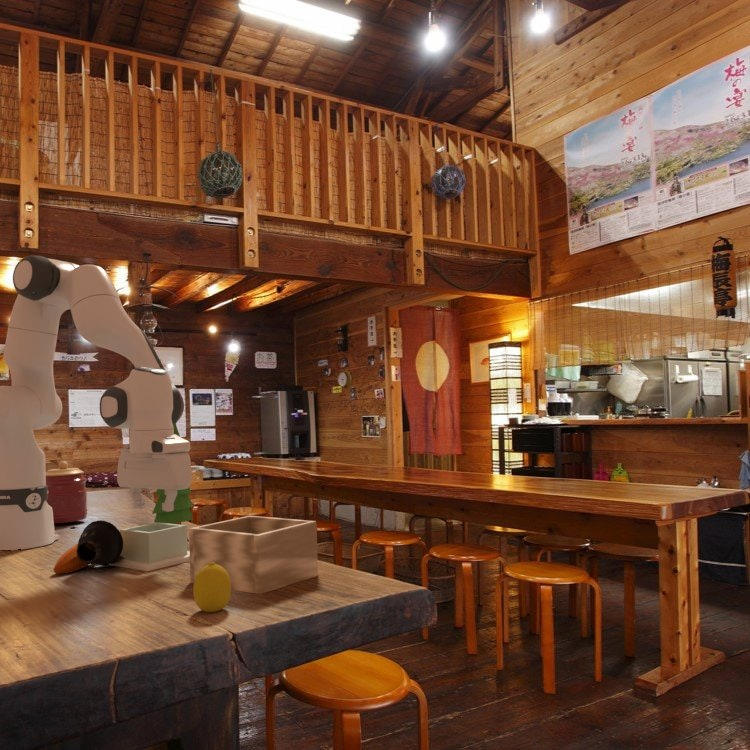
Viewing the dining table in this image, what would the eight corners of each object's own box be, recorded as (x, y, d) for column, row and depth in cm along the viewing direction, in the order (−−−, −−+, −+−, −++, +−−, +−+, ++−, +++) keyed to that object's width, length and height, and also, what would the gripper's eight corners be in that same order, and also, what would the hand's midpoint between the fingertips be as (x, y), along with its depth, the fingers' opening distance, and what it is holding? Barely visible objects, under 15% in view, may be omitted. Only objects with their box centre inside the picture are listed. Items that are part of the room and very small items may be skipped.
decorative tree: (176, 546, 154) (173, 416, 155) (143, 545, 157) (140, 417, 159) (201, 538, 163) (198, 415, 164) (169, 537, 166) (166, 416, 168)
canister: (30, 524, 195) (29, 463, 196) (58, 516, 208) (57, 460, 209) (70, 524, 193) (69, 462, 194) (96, 516, 206) (95, 459, 207)
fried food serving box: (190, 585, 118) (189, 528, 119) (250, 566, 131) (249, 515, 131) (259, 597, 109) (258, 535, 109) (318, 576, 121) (316, 521, 122)
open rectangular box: (104, 565, 137) (103, 530, 137) (160, 551, 149) (159, 520, 149) (147, 572, 129) (146, 536, 130) (203, 557, 141) (202, 524, 141)
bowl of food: (78, 520, 125) (127, 494, 143) (50, 565, 127) (102, 533, 145) (117, 549, 125) (161, 519, 142) (88, 594, 126) (135, 559, 144)
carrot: (53, 553, 126) (103, 526, 141) (38, 568, 127) (88, 539, 142) (70, 574, 126) (118, 544, 140) (54, 588, 127) (103, 557, 142)
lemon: (197, 611, 102) (196, 559, 103) (234, 609, 103) (232, 557, 103) (190, 623, 97) (189, 567, 97) (229, 620, 97) (227, 565, 98)
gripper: (109, 444, 143) (109, 509, 143) (171, 444, 132) (172, 515, 131) (134, 442, 149) (135, 505, 148) (196, 442, 137) (197, 510, 136)
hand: (153, 510), depth 140 cm, fingers open, 8 cm apart
